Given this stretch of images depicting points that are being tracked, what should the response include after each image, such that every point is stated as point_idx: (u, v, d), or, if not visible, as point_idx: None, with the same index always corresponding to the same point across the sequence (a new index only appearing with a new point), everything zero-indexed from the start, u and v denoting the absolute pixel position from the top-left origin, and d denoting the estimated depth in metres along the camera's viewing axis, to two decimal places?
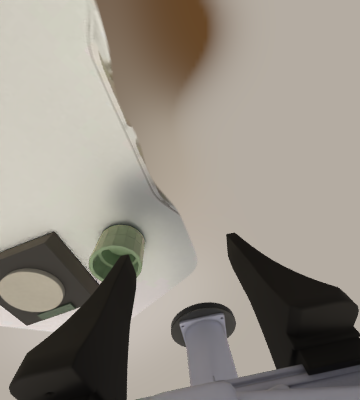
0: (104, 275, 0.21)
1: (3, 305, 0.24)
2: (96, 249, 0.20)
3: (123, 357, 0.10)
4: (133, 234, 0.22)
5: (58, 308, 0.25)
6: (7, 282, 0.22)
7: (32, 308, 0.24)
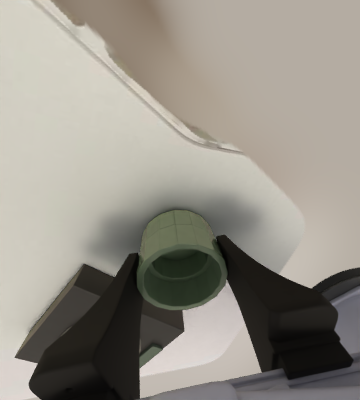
0: (174, 299, 0.13)
1: None
2: (139, 266, 0.11)
3: (135, 354, 0.10)
4: (185, 219, 0.13)
5: (142, 355, 0.18)
6: None
7: None
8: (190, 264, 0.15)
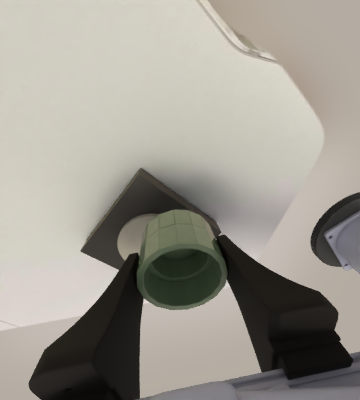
0: (174, 299, 0.13)
1: None
2: (139, 266, 0.11)
3: (135, 354, 0.10)
4: (186, 218, 0.13)
5: None
6: (124, 240, 0.19)
7: None
8: (190, 264, 0.15)
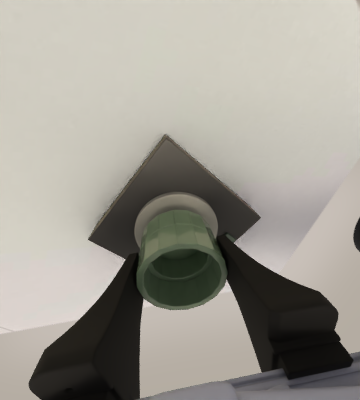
0: (174, 299, 0.13)
1: None
2: (139, 266, 0.11)
3: (135, 354, 0.10)
4: (185, 218, 0.13)
5: None
6: (143, 226, 0.15)
7: None
8: (190, 264, 0.15)
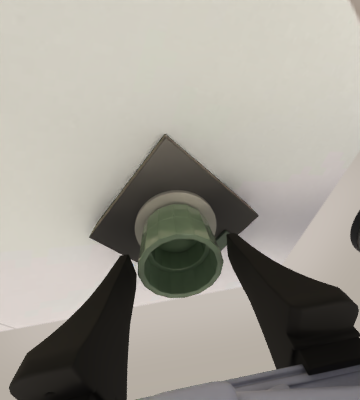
0: (173, 288, 0.14)
1: None
2: (140, 256, 0.12)
3: (123, 357, 0.10)
4: (184, 212, 0.14)
5: None
6: (143, 223, 0.16)
7: None
8: (188, 256, 0.16)
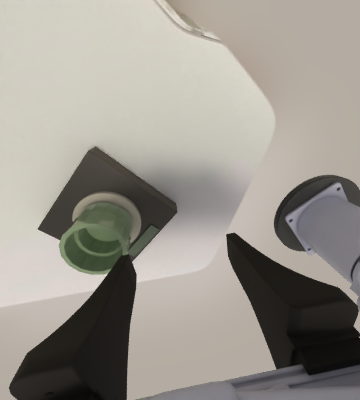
0: (94, 267, 0.18)
1: None
2: (61, 240, 0.16)
3: (123, 357, 0.10)
4: (102, 208, 0.18)
5: (142, 235, 0.22)
6: None
7: None
8: (115, 244, 0.20)
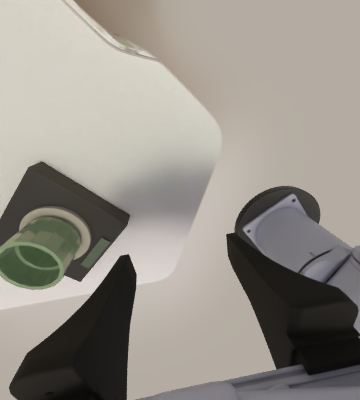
0: (35, 282, 0.18)
1: None
2: None
3: (123, 357, 0.10)
4: (42, 224, 0.18)
5: (94, 248, 0.22)
6: None
7: None
8: None
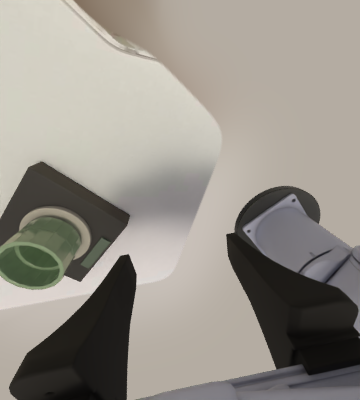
0: (35, 282, 0.18)
1: None
2: None
3: (123, 357, 0.10)
4: (42, 224, 0.18)
5: (94, 248, 0.22)
6: None
7: None
8: None
